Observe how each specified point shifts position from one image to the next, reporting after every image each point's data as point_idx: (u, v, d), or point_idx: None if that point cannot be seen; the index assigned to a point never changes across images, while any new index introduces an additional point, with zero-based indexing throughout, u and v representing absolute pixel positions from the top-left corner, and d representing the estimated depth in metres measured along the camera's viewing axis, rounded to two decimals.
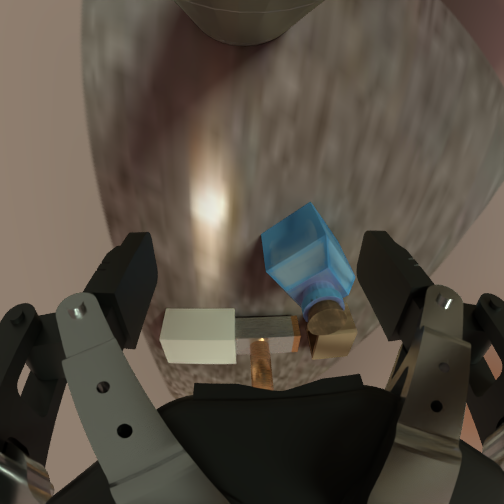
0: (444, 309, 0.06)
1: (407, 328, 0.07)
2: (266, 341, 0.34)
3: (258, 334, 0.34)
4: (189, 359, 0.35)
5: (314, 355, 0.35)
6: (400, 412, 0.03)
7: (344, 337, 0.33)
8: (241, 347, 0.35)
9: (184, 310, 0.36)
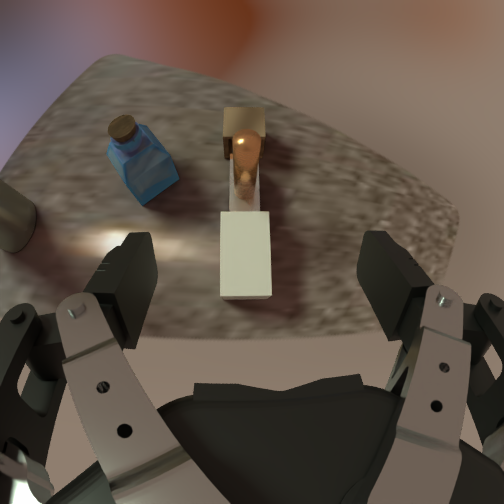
0: (444, 309, 0.06)
1: (406, 329, 0.07)
2: None
3: None
4: (261, 266, 0.30)
5: None
6: (400, 412, 0.03)
7: (230, 115, 0.34)
8: (246, 208, 0.32)
9: None
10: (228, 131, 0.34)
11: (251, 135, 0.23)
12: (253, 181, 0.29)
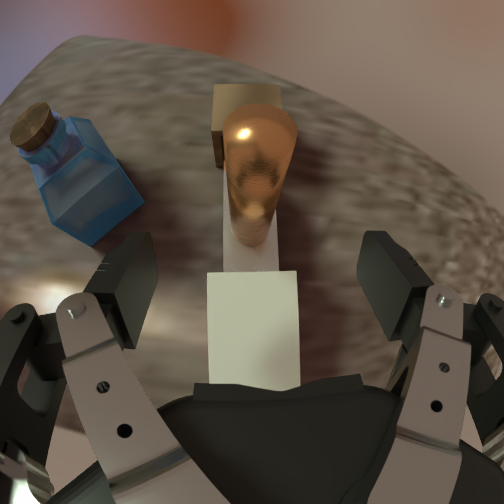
0: (444, 309, 0.06)
1: (406, 328, 0.07)
2: None
3: None
4: (283, 373, 0.15)
5: None
6: (400, 412, 0.03)
7: (224, 96, 0.20)
8: (255, 262, 0.18)
9: None
10: (220, 122, 0.19)
11: (271, 119, 0.09)
12: (269, 219, 0.14)
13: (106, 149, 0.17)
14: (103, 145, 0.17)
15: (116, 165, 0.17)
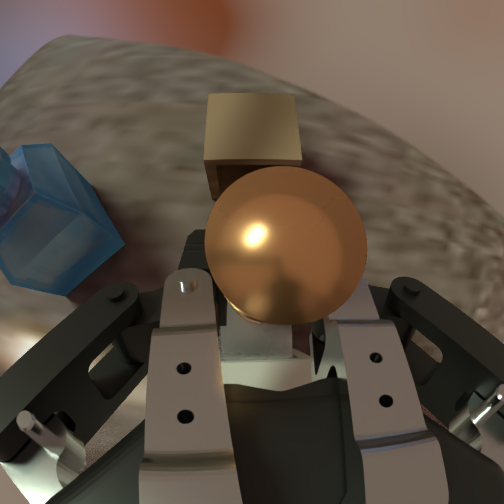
0: None
1: None
2: None
3: None
4: None
5: (284, 157, 0.15)
6: (400, 412, 0.03)
7: (221, 111, 0.15)
8: (262, 344, 0.13)
9: None
10: (216, 147, 0.15)
11: (313, 209, 0.04)
12: None
13: (67, 187, 0.13)
14: (64, 181, 0.13)
15: (79, 211, 0.12)
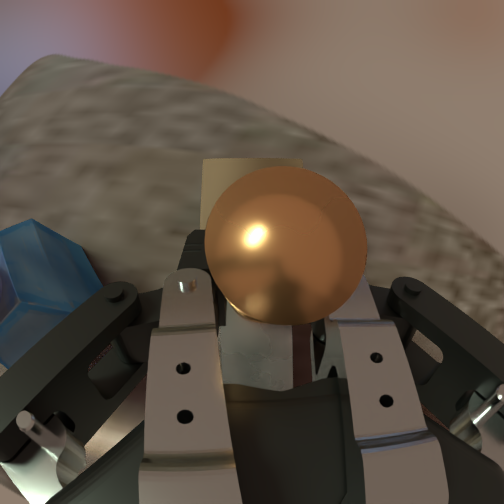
0: None
1: None
2: None
3: None
4: None
5: None
6: (400, 412, 0.03)
7: (218, 184, 0.14)
8: (261, 344, 0.13)
9: None
10: None
11: (313, 209, 0.04)
12: None
13: (53, 281, 0.12)
14: (49, 273, 0.12)
15: (69, 311, 0.11)
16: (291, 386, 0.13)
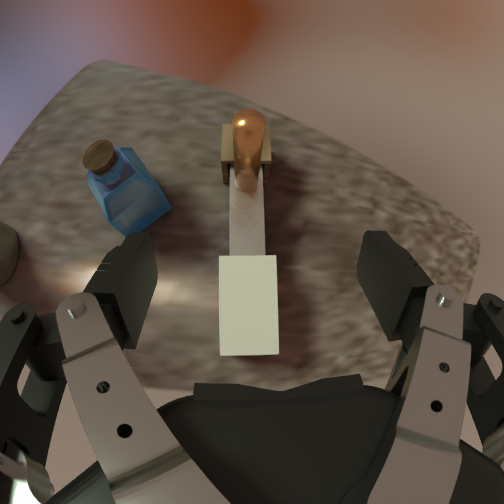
0: (444, 309, 0.06)
1: (406, 329, 0.07)
2: None
3: None
4: (267, 321, 0.25)
5: (262, 159, 0.29)
6: (400, 412, 0.03)
7: (229, 134, 0.30)
8: (249, 202, 0.29)
9: None
10: (227, 154, 0.29)
11: (254, 116, 0.20)
12: (256, 170, 0.25)
13: (148, 172, 0.27)
14: (145, 169, 0.27)
15: (156, 184, 0.27)
16: (263, 222, 0.28)
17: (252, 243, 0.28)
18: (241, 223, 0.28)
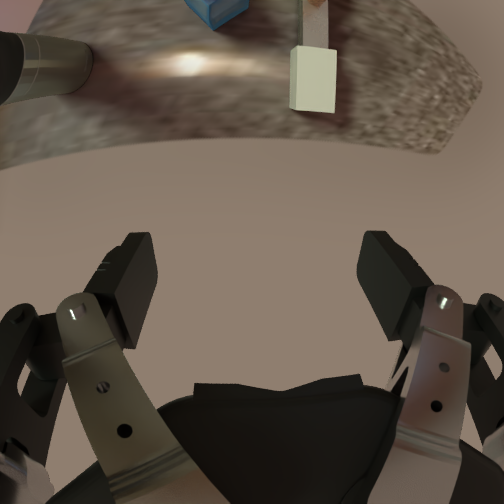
0: (444, 309, 0.06)
1: (406, 329, 0.07)
2: None
3: None
4: (328, 90, 0.32)
5: None
6: (400, 412, 0.03)
7: None
8: (317, 12, 0.27)
9: (290, 91, 0.36)
10: None
11: None
12: None
13: None
14: None
15: None
16: (327, 27, 0.28)
17: (319, 39, 0.29)
18: (311, 25, 0.28)
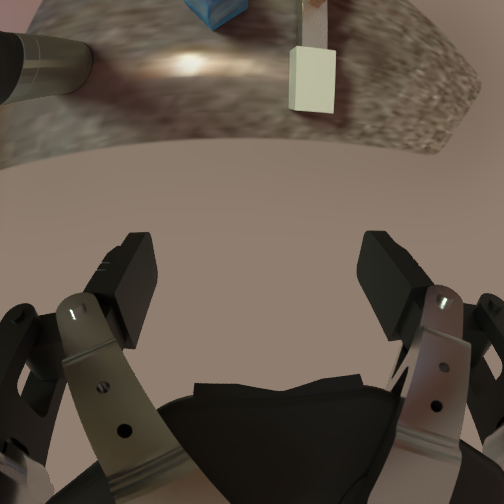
0: (444, 309, 0.06)
1: (406, 328, 0.07)
2: None
3: None
4: (327, 91, 0.32)
5: None
6: (400, 412, 0.03)
7: None
8: (316, 13, 0.27)
9: (289, 91, 0.36)
10: None
11: None
12: None
13: None
14: None
15: None
16: (327, 27, 0.28)
17: (318, 40, 0.29)
18: (310, 26, 0.28)
